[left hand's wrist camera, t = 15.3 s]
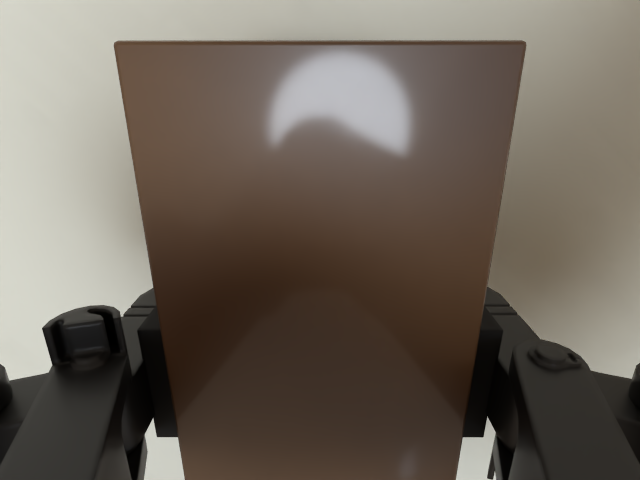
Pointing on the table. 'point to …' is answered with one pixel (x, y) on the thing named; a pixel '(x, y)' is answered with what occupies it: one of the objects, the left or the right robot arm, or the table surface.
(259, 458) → the post
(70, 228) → the table surface
